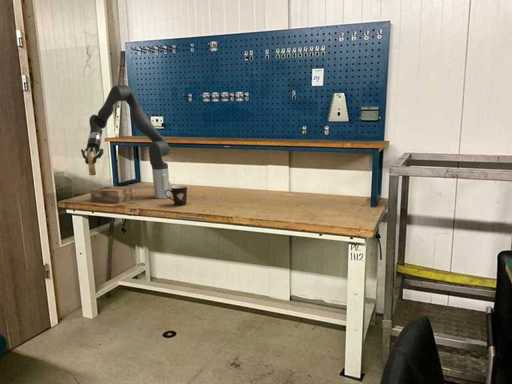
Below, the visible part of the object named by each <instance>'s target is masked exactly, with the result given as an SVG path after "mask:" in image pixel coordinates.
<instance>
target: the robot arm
mask: <svg viewBox="0 0 512 384" xmlns="http://www.w3.org/2000/svg"><path fill="white" fill-rule="evenodd" d="M118 102H126V103H127V105H128V106H129V109H130V120H131V122H132V124H133V125H134V128H136V130H138V131H139V132H140V133H141V134H142V135H144V136H146V137H147V138H148V139H149V140H150V141H151V142H150V144H149V145H148V157H149V163H150V165H151V172H152V174H151V175H152V181H153V182H152V183H153V195H154V199H167V198H168V197H170V198H171V197H172V193H171V192H170V191H167V192H166V193H165V191H166V190H172V189H171V187H172V186H171V180H170V174H169V165H168V163H167V162H165V161H164V159H163V160H162V157H163V158H164V157H166V156H168V155H169V153H170V145H169V144H168V142H167V141H166V140H165V138H164V137H163V136H162V135H161V134H160V133H159V131H158V129H156V127H155V126H154V124H153V123H152V122H151V120H150V118H149V117H148V115H147V113H146V112H145V111H144V110H143V108H142V106H141V104H140V103H139V101H138V100H137V98H136V97H135V94H134V92H133V90H132V89H131V88H130V86H128V85H126V84H120V85H113V86H112V88H111V89H110V91H109V93H108V95H107V97H106V100H105V102H104V104H103V105H102V106H101V108H100V109H99V110H98V112H97V114H92V115H91V116H90V117H89V127H90V132H89V136H88V138H87V143H86V148H85V149H83V148H81V149H80V153H81V156H82V157H83V159H84V162H85V164H86V165H88V157H87V152H93V154H94V158H93V164H95V165H96V163H97V160H98V159H101V158H102V156H103V155H104V153H105V150H104V149H103V148H101V143H102V137H103V136H102V135H103V129H105V128H106V126H107V124H108V120H109V119H110V117H111V116H112V115H113V114H114V109H115V108H114V106H115V104H117V103H118ZM168 145H169V146H168ZM163 161H164V162H163ZM165 194H166V195H167V196H168V197H166V196H165ZM168 199H169V198H168Z"/></svg>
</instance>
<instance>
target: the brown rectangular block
mask: <svg viewBox="0 0 512 384" xmlns="http://www.w3.org/2000/svg"><path fill="white" fill-rule="evenodd" d="M89 192H90V198H91V201H90V202H92V201H95V202H96V203H108V204H121V203H124V202H127V201H130V200H132V199H133V189H132V187H131V186H116V185H115V186H114V185H113V186H112V185H110V186H109V185H103V186H99V187H96V188H92V189H90V190H89ZM95 202H94V203H95Z"/></svg>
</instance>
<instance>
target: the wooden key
mask: <svg viewBox="0 0 512 384" xmlns="http://www.w3.org/2000/svg"><path fill="white" fill-rule="evenodd" d="M86 154H87V157H88V164H87V165H88V174H89V176H96V175H97V172H96V163H95V164H93V158H94V154H93V152H87V151H86Z"/></svg>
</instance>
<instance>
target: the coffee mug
mask: <svg viewBox="0 0 512 384" xmlns="http://www.w3.org/2000/svg"><path fill="white" fill-rule="evenodd" d="M167 191H170V192H171V195H172V198H171V197H168V196H167V195H166V194H165V196H166V197H168V199H169V200H172V201H173V203H174V204H173V205H174V206H176V207H183V206H186V205H187V201H188V200H187V198H188V197H187V196H188V185H184V184H182V185H181V184H177V185H173V186H171V190H166V191H165V193H166V192H167Z"/></svg>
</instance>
